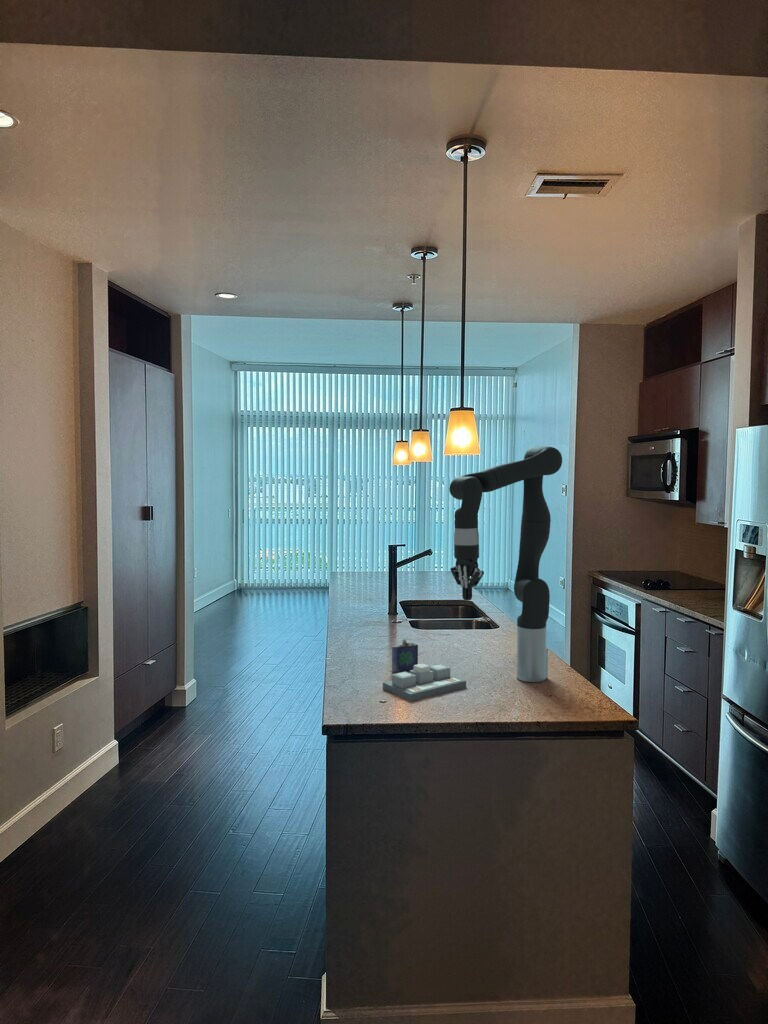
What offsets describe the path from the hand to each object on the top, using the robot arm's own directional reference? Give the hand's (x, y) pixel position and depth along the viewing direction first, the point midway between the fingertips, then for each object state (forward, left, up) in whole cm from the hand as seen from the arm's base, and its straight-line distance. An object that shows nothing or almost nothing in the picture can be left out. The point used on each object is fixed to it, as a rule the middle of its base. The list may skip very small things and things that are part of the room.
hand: (467, 599), depth 203 cm
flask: (+2, -29, -29) cm, 41 cm away
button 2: (+1, -12, -26) cm, 29 cm away
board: (+8, -11, -29) cm, 31 cm away
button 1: (+15, -12, -26) cm, 33 cm away
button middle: (+8, -12, -25) cm, 29 cm away
